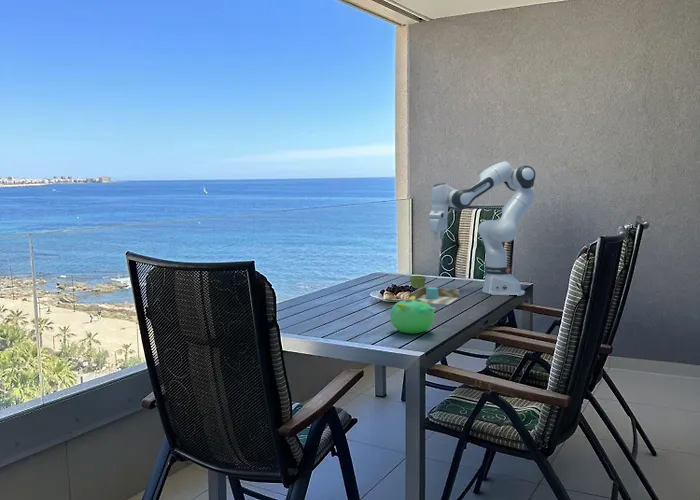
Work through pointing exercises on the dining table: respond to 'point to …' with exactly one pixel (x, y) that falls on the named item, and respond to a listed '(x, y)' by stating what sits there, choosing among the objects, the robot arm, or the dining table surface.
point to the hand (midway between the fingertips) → (439, 239)
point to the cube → (432, 293)
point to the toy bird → (412, 315)
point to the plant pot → (417, 281)
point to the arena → (443, 295)
